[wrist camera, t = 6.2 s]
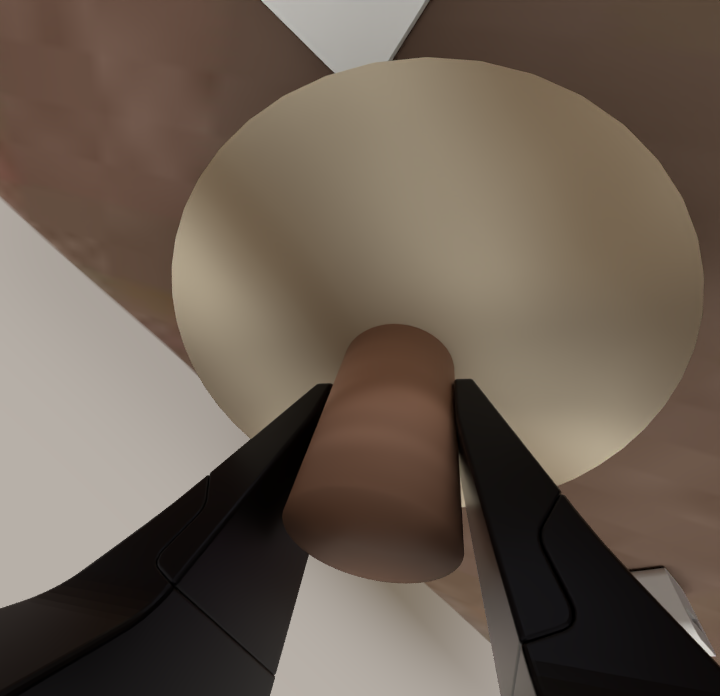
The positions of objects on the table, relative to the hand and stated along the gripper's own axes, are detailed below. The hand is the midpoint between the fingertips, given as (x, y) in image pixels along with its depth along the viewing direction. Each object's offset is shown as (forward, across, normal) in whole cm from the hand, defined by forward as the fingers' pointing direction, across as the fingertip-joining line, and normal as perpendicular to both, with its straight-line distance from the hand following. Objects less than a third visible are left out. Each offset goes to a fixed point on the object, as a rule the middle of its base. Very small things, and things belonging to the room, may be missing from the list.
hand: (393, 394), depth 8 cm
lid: (+2, 0, 0) cm, 2 cm away
